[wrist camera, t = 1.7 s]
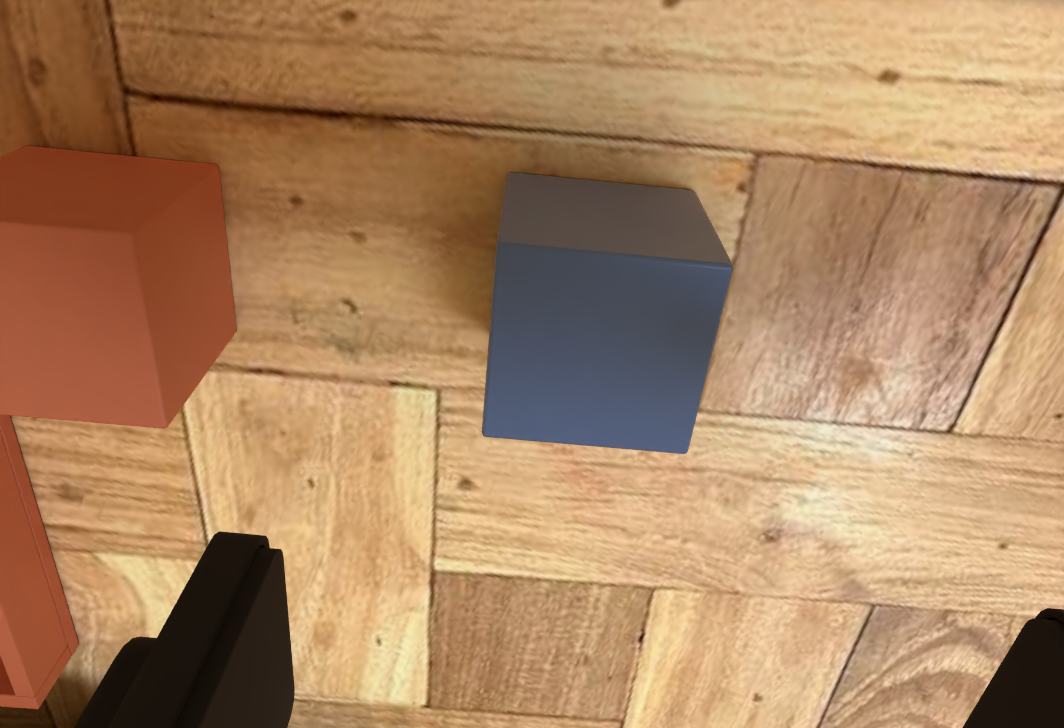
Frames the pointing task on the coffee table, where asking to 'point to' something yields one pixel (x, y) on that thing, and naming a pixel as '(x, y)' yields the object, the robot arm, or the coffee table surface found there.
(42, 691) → the dish
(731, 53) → the coffee table surface
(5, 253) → the terracotta block
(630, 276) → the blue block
